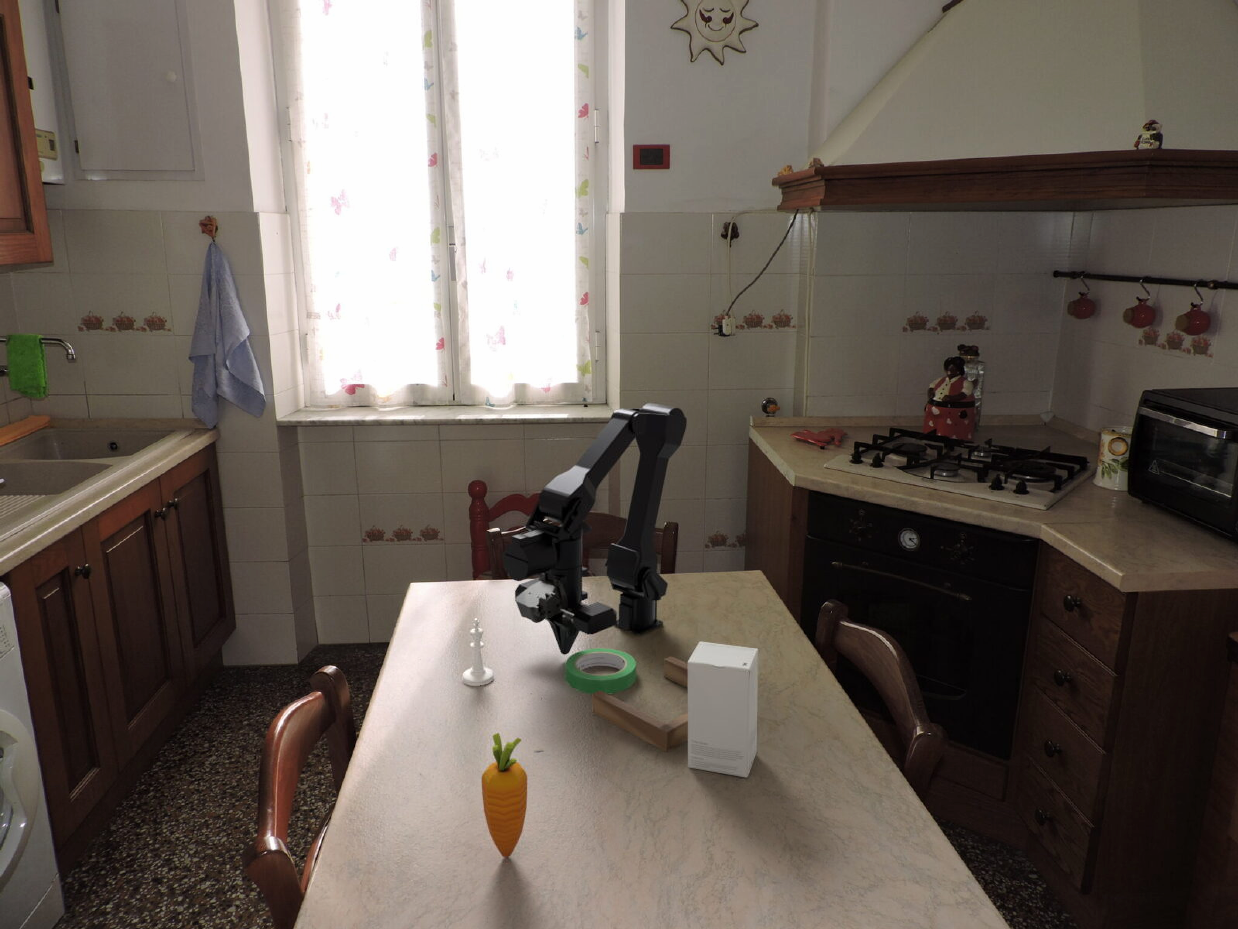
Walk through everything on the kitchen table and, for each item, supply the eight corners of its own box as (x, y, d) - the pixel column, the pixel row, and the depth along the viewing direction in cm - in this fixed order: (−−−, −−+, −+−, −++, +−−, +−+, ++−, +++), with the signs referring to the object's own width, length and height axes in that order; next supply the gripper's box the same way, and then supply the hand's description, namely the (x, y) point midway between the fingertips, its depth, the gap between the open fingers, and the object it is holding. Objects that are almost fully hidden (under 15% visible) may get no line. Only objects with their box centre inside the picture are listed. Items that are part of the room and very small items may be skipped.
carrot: (485, 843, 105) (481, 726, 101) (529, 841, 105) (526, 724, 102) (482, 873, 100) (478, 751, 96) (528, 871, 101) (526, 749, 97)
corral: (670, 673, 145) (670, 656, 144) (743, 707, 135) (744, 688, 134) (592, 712, 133) (592, 694, 133) (666, 752, 123) (667, 732, 123)
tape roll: (587, 656, 151) (587, 641, 151) (647, 671, 146) (648, 656, 146) (552, 685, 142) (551, 669, 141) (615, 702, 137) (615, 686, 136)
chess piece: (497, 671, 145) (495, 613, 143) (490, 687, 141) (488, 626, 138) (466, 670, 146) (464, 611, 143) (458, 685, 141) (456, 625, 138)
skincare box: (757, 754, 123) (762, 647, 119) (747, 781, 117) (752, 670, 113) (696, 742, 126) (699, 638, 122) (683, 769, 120) (686, 659, 116)
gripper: (487, 560, 146) (490, 650, 150) (565, 593, 134) (565, 690, 137) (541, 544, 154) (542, 630, 158) (619, 574, 141) (618, 666, 145)
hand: (564, 653), depth 149 cm, fingers closed
